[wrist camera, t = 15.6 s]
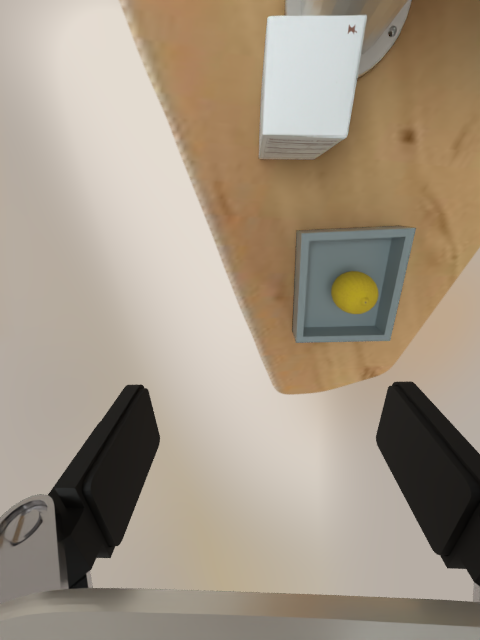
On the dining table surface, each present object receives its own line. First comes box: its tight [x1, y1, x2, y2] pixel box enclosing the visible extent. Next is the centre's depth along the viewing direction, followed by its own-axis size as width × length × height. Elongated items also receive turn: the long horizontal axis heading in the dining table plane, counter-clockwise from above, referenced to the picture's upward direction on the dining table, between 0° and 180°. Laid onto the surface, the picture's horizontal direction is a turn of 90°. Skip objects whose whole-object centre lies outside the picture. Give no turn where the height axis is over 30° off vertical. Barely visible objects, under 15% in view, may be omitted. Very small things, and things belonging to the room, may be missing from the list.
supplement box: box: [259, 15, 367, 160], centre depth 25 cm, size 7×7×13 cm
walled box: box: [292, 226, 416, 343], centre depth 37 cm, size 16×14×4 cm
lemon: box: [331, 271, 379, 314], centre depth 34 cm, size 6×6×8 cm
